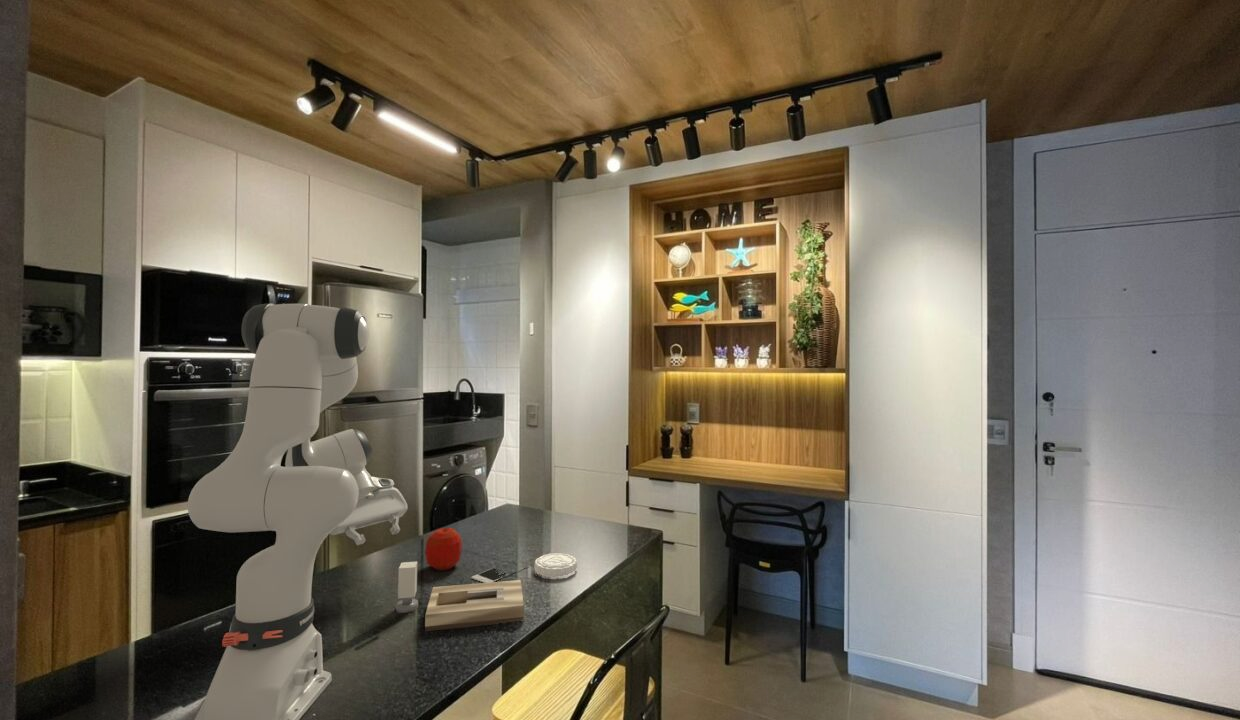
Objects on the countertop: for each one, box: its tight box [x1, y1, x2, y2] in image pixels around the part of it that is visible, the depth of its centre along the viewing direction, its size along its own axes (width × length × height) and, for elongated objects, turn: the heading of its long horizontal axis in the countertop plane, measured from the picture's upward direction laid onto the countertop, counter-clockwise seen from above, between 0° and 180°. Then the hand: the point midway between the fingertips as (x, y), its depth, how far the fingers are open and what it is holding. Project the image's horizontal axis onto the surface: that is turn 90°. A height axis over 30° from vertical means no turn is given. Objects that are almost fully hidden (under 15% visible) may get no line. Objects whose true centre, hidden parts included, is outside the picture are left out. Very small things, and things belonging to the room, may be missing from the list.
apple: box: [424, 526, 463, 571], centre depth 144 cm, size 10×10×12 cm
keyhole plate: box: [424, 579, 525, 632], centre depth 118 cm, size 14×21×4 cm, turn 104°
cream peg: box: [395, 561, 419, 614], centre depth 119 cm, size 5×5×10 cm
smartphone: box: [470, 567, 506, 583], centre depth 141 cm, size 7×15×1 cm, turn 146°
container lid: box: [533, 552, 578, 577], centre depth 143 cm, size 12×12×4 cm
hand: (379, 537), depth 125 cm, fingers open, 8 cm apart
